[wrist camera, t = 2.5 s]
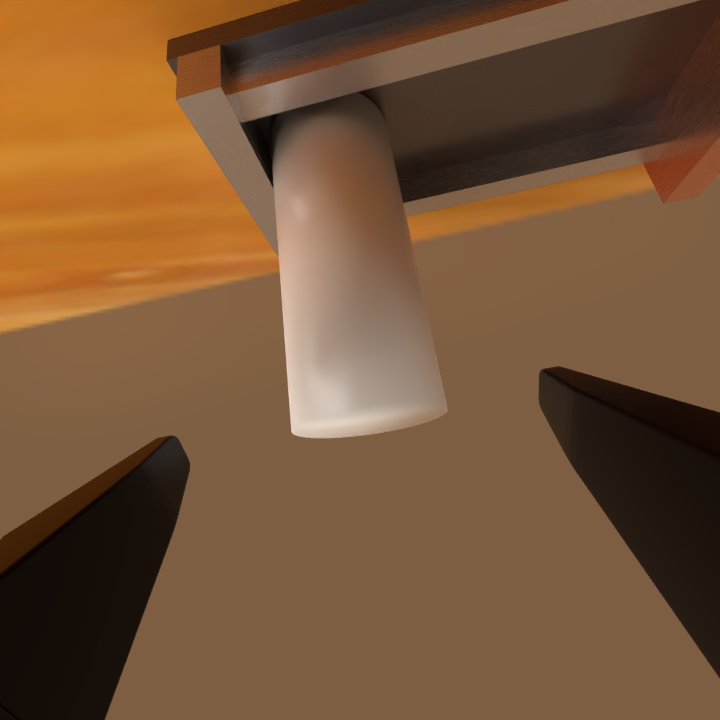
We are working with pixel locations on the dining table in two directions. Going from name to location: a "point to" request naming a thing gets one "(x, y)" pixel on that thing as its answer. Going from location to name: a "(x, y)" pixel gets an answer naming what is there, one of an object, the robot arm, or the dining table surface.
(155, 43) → the dining table surface
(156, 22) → the dining table surface
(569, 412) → the robot arm
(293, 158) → the white cylinder
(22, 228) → the dining table surface
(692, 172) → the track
